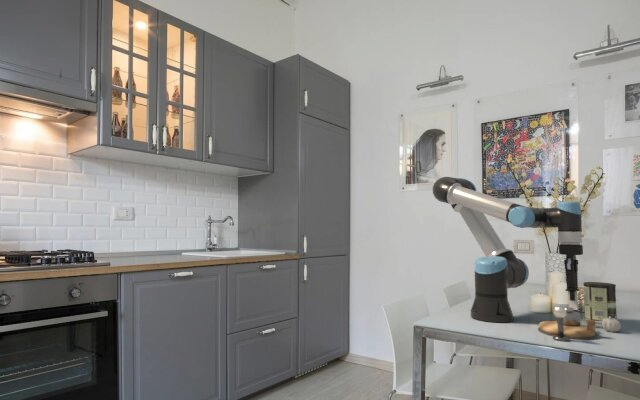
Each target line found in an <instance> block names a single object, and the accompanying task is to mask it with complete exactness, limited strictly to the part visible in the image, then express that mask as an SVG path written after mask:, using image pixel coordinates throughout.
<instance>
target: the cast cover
mask: <svg viewBox="0 0 640 400" xmlns="http://www.w3.org/2000/svg"><path fill="white" fill-rule="evenodd" d="M563 308H564V309H565V310H566V312H567V314H566V316H565V317H564V318H563V324H564V325H565V326H574V327H576V326H581V324H582V323H581V313H580V312H578V311H576V310H573V308H571V307H569V306H563ZM556 321H557V323H558V318H557V317H556Z"/></svg>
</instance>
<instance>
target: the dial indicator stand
mask: <svg viewBox="0 0 640 400" xmlns="http://www.w3.org/2000/svg"><path fill="white" fill-rule="evenodd" d="M563 307H564V306H563ZM563 307H562V306H556V307H554V308H553V310H552V314H553V316H554V317H555V318H556V319H557V318H558V335H553V336H552V339H553V340H554V341H558V342H569V341H570V339H569V337H566V336H564V324H563V318H564V317H565V316H566V314H567V312H566V310H565V309H564V308H563Z"/></svg>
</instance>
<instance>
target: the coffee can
mask: <svg viewBox="0 0 640 400" xmlns="http://www.w3.org/2000/svg"><path fill="white" fill-rule="evenodd" d="M582 283H583V294H584V295H583V296H584V298H583V299H584V320H585V321H587V320H595V324H596V323H597V324H602V321H603V319H605V318H609V316H611V318H614V319H617V320H618V315H617V292H616V287H617V285H616V284H615V283H610V282H601V281H599V282H598V281H585V282H582Z"/></svg>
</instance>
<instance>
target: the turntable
mask: <svg viewBox="0 0 640 400" xmlns="http://www.w3.org/2000/svg"><path fill="white" fill-rule="evenodd" d="M539 327H540V330H541V331H543V332H546V333H549V334H553V335H558V323H557V320H545V321H544V320H543V321H541V322H539ZM595 334H596V322H595V320H586V324H583V323H581V326H576V327H574V326H565V325H564V336H566V337H572V338H591V337H594V336H595Z"/></svg>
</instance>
